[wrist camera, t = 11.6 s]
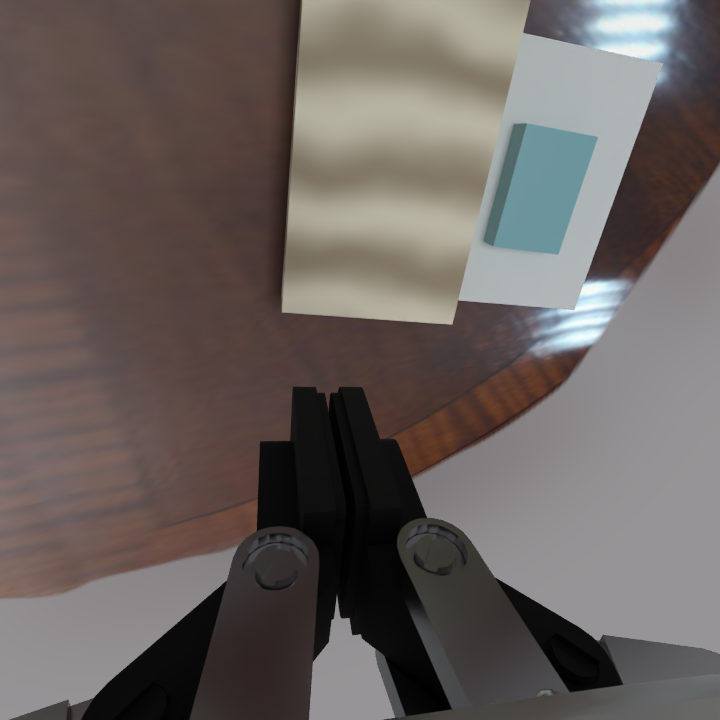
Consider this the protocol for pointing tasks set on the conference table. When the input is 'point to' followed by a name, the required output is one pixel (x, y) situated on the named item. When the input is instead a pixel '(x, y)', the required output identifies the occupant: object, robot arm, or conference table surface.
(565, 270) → the mat
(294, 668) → the robot arm
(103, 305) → the conference table surface
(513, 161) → the blue rectangular block
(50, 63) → the conference table surface
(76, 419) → the conference table surface
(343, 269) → the beige flat block
